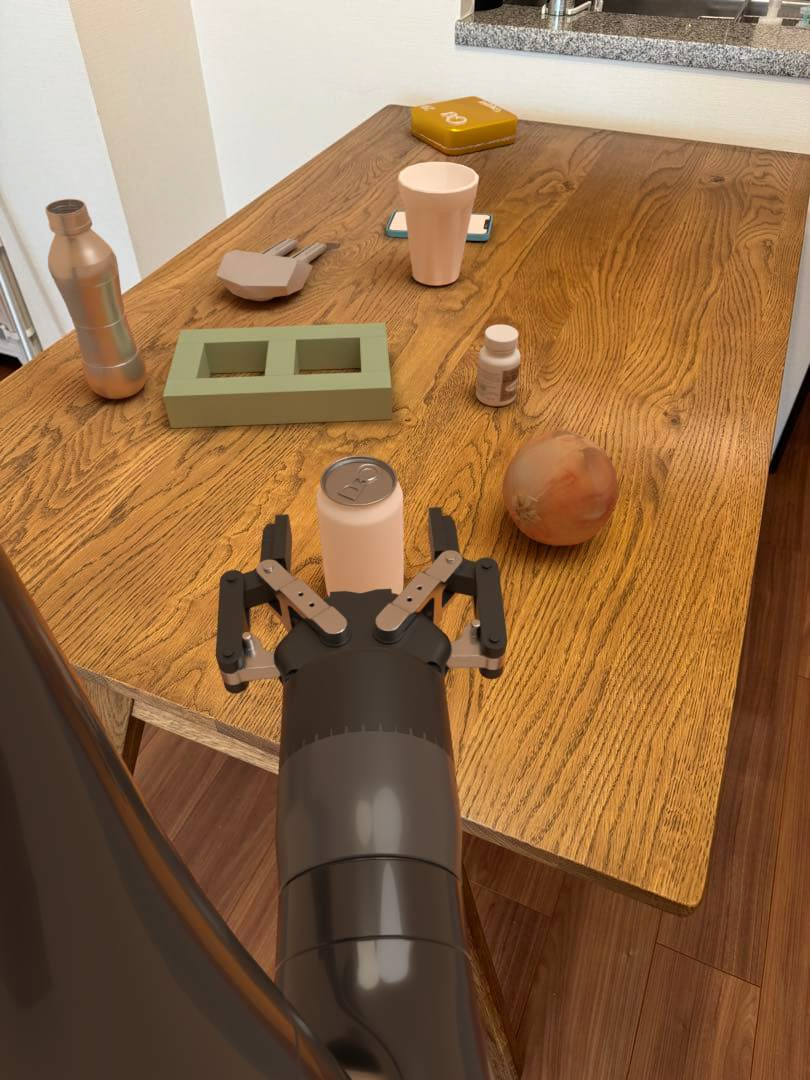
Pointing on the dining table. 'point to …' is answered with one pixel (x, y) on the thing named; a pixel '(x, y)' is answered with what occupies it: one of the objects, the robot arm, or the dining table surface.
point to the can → (361, 525)
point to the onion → (560, 488)
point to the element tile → (463, 124)
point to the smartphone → (476, 231)
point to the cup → (437, 217)
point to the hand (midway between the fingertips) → (359, 521)
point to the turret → (268, 270)
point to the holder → (279, 375)
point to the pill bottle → (498, 366)
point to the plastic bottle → (94, 301)
